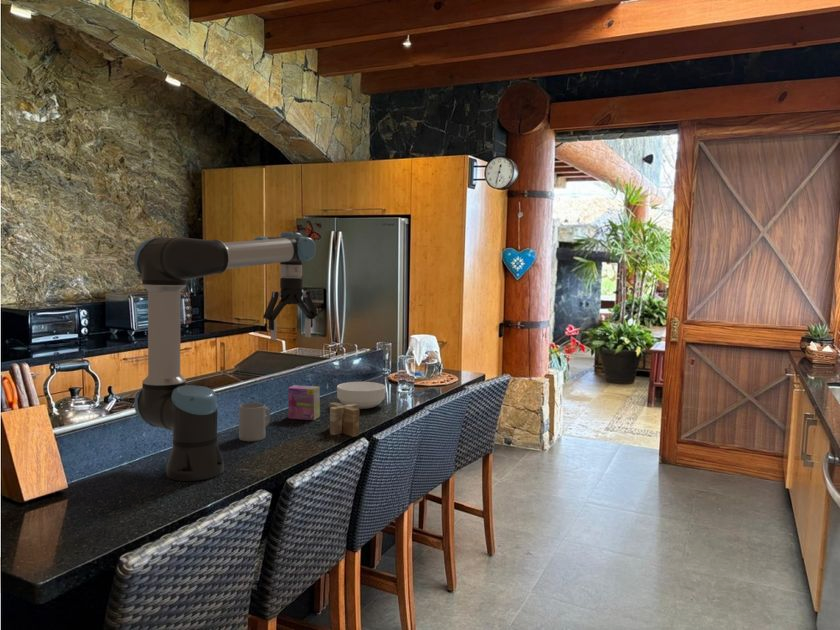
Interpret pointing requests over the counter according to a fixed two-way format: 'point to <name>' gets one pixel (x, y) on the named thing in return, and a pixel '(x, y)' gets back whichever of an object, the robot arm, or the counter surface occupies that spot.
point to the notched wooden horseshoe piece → (338, 418)
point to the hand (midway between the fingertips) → (291, 338)
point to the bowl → (361, 394)
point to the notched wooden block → (349, 420)
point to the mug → (253, 421)
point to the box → (304, 402)
